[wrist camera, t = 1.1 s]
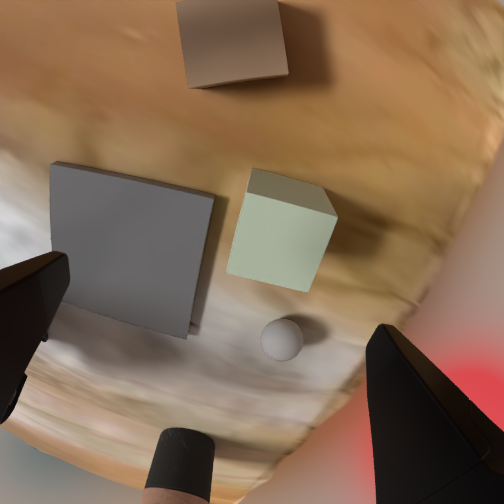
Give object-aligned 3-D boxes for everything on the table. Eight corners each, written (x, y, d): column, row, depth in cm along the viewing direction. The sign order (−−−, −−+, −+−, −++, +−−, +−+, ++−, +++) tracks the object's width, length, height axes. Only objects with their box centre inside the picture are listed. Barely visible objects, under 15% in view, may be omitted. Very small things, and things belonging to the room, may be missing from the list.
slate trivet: (188, 332, 25) (186, 339, 25) (61, 294, 25) (57, 299, 24) (215, 194, 20) (213, 199, 19) (56, 161, 19) (50, 164, 18)
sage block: (300, 249, 21) (307, 292, 17) (235, 232, 21) (225, 273, 17) (322, 187, 19) (338, 217, 15) (251, 167, 19) (246, 192, 15)
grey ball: (294, 343, 25) (296, 373, 23) (256, 336, 25) (254, 365, 22) (307, 314, 24) (311, 344, 21) (267, 306, 24) (266, 335, 21)
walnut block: (285, 77, 16) (288, 74, 14) (200, 89, 17) (188, 88, 14) (273, 1, 14) (274, -14, 11) (189, 14, 15) (175, 2, 12)
